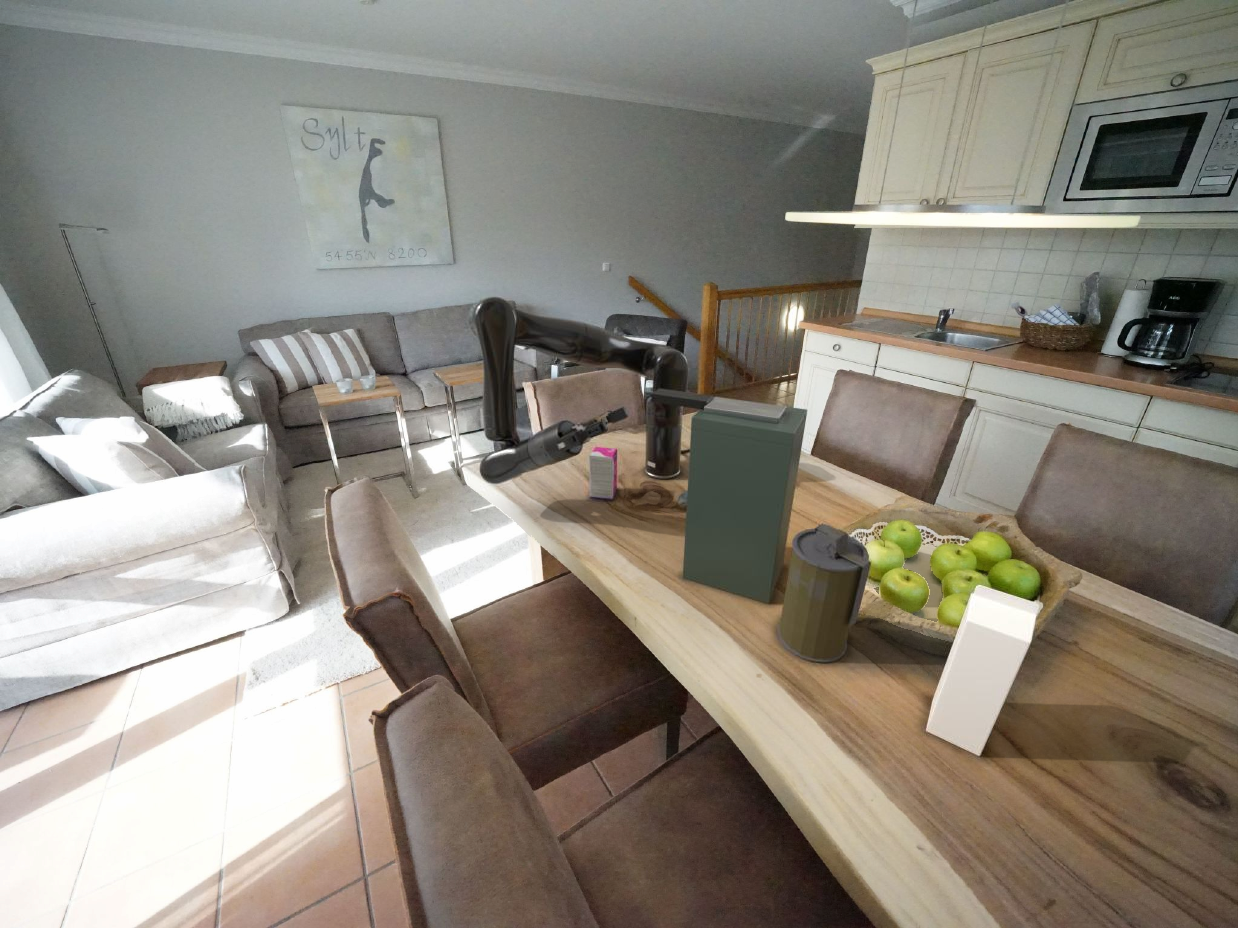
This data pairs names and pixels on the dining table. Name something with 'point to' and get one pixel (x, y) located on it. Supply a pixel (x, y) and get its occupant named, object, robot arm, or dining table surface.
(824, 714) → the dining table surface
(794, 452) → the tall green lidded box
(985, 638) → the milk
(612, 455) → the supplement box
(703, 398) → the long-handled flat paddle
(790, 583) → the canister
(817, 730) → the dining table surface
